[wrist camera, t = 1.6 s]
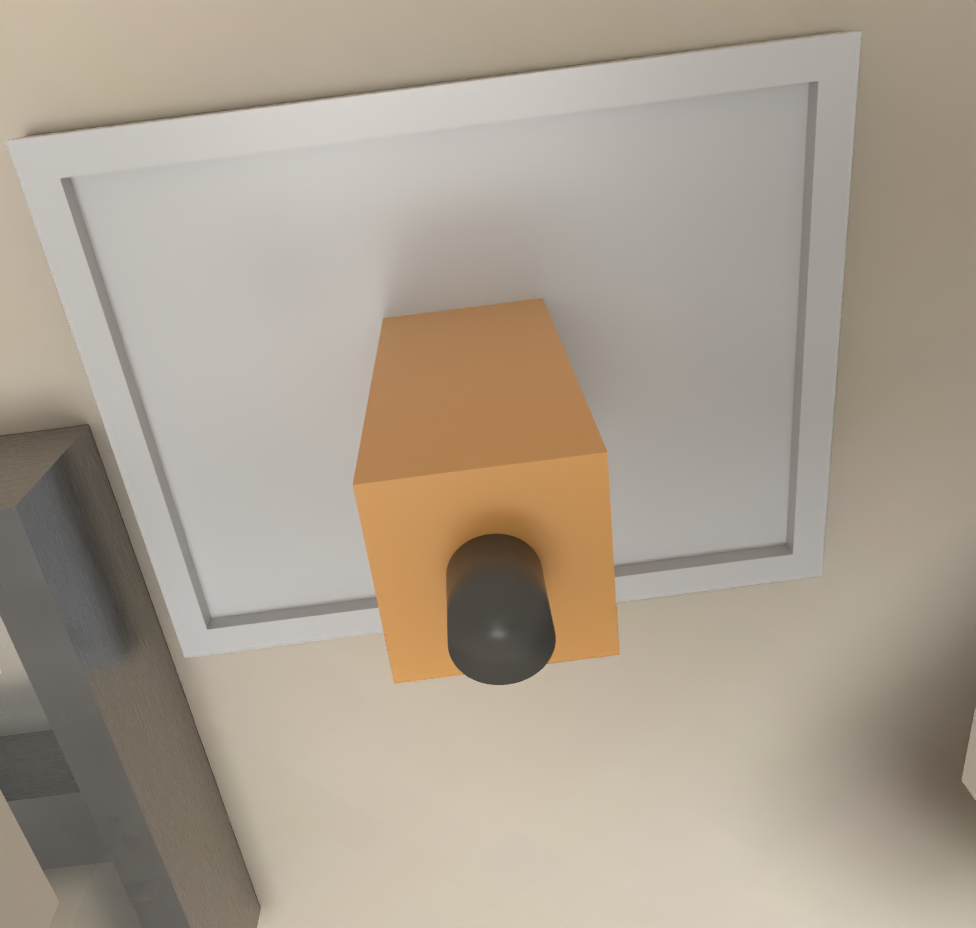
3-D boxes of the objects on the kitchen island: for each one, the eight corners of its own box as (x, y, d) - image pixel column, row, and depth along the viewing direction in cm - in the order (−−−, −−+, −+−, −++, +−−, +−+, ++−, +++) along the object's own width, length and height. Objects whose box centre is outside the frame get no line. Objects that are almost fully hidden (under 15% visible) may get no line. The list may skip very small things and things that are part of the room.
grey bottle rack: (88, 425, 25) (14, 506, 21) (260, 909, 35) (235, 1035, 31) (-245, 467, 25) (-390, 558, 21) (20, 940, 35) (-40, 1070, 31)
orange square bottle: (542, 297, 24) (630, 508, 13) (554, 442, 26) (641, 726, 15) (382, 318, 24) (342, 545, 13) (408, 461, 26) (390, 759, 15)
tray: (840, 31, 22) (861, 30, 21) (807, 556, 29) (821, 576, 28) (26, 136, 22) (4, 140, 21) (193, 635, 29) (184, 658, 28)
